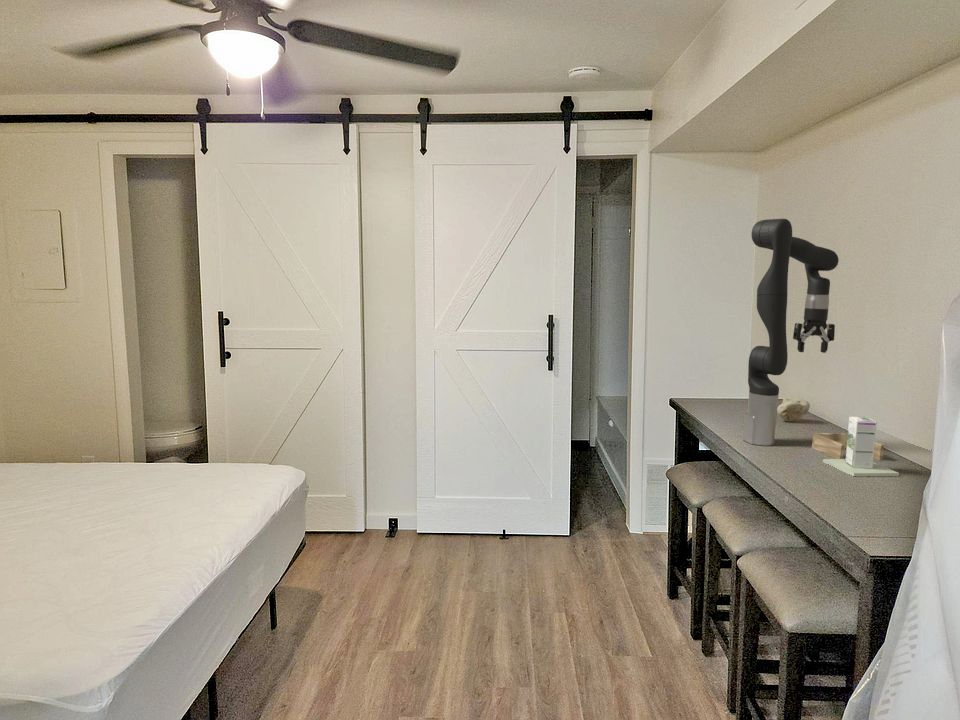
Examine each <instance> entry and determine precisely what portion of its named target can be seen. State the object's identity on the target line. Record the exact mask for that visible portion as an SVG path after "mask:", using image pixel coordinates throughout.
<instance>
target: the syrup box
mask: <svg viewBox="0 0 960 720" xmlns="http://www.w3.org/2000/svg"><path fill="white" fill-rule="evenodd" d="M877 423H878V422H877V421H876V420H875V419H872V418H870V417H866V416H849V418H848V427H847V428H848V429H847V433H848V437H847V447H846V448H845V449H846V450H845V458H844V459H845V462H846V463H847V464H849V465H850V466H852V467H854V468H867V469H872V467H873V462H874V458H873V457H874V447H875V442H876V437H877V436H876V433H877V426H878V424H877Z"/></svg>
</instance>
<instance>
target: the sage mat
mask: <svg viewBox="0 0 960 720" xmlns="http://www.w3.org/2000/svg"><path fill="white" fill-rule="evenodd" d="M822 462H823V463H824V464H826V465H828V464H829V466H830V465H831V467H832V466H833V467H832V468H834V467H835V468H834V469H836V468H837V470H839V471H841V472H843V473H845V474H848V475H849V474H850V475H849V476H851V475H852V476H851V477H853V476H856V477H855V478H857V477H859V478H861V477H868V476H870V477H899V474H900V473H899V472H898V471H895V470H892V469H891V468H888V467H885V466H883V465H881V464H878V463H876V462H874V461H873V467H872V469H867V468H854V467H852V466H850V465H849V464H847V463H846V462H845V458H843V459H836V458H824V459H823V461H822Z"/></svg>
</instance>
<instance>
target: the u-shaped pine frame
mask: <svg viewBox="0 0 960 720" xmlns="http://www.w3.org/2000/svg"><path fill="white" fill-rule="evenodd" d="M847 437H848V432H846V433H845V432H841V433H840V432H837V433H836V432H833V433H832V432H829V433H828V432H826V433H825V432H823V433H822V432H817V433H815V432H813V433H812V441H811V442H812V443H811V448H812V449H814V450H816V451H818V452H820V453H822V452H823V453H822V454H824V455H826V456H830V457H831V458H833V457H834V458H833V459H844V453H845V452H844V451H845V449H846V447H847ZM884 448H885V444H883V443H881V442H877V441H875V447H874V457H873V459H875V460H878V461H883V459H884V451H885V449H884Z"/></svg>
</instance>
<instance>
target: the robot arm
mask: <svg viewBox="0 0 960 720" xmlns="http://www.w3.org/2000/svg"><path fill="white" fill-rule="evenodd" d="M791 223H792V222H791V221H790V220H789V219H787V218H770V219H768V218H767V219H763V220H762V219H761V220H760V221H757V222H756V223H755V224H754V225H753V227H752V230H751V240H752V243H753V244H754V245H755V246H757V247H758V248H763V249H768V250H771V251H772V257H771V258H772V259H771V263H770V265H769V267H768V269H767V271H766V272H765V274H764V275H763V277H762V278H761V280H760V282H759V284H758V286H757V289H756V290H757V291H756V310H757V313H758V315H759V317H760V319H761V321H762V324H764V327H765V328H766V331H767V333H768V340H769V341H768V342H769V343H768V344H769V346H766V345H757V346H755V347H753V348H752V349H751V351H750V353H749V358H748V368H747V369H748V374H747V383H748V387H749V388H748V389H749V391H748V401H747V412H746V413H744V420H743V432H742V440H743V441H744V442H746V443H747V444H750V445H757V446H774V445H775V439H776V438H775V437H776V436H775V435H776V427H777V418H778V417H777V415H778V413H777V408H778V406H779V395H780V394H779V393H780V387H779V386H778V384H776V383H774V382H773V381H772V380H771V379H770V378H769V376H768V375H771V376H780V375H782V374H783V373H784V372H785V371H786V369H787V366H788V354H789V353H788V342H787V341H788V339H787V308H788V284H789V283H788V282H789V281H788V280H789V279H788V278H789V277H788V276H789V263H790V258H792V259H794V260H796V261H798V262H800V263H802V264H804V270H805V273H806V274H805V275H806V279H807V289H806V290H807V291H806V295H805V304H804V312H803V320H804V321H803V323H799V322H796V323H794V329H793V336H792V339H793V340H796V341H797V347H796V348H797V351H798V352H799V353H804V351H805V344H806V343H805V342H806V340H807V338H809V337H810V336H812V337H814V336H817V337H819V338H820V339H821V342H820V343H821V344H820V352H821V353H823V354H825V353H827V351H828V349H829V343H830V342H832V341H834V340H835V332H836V331H835V330H836V328H835V327H836V325H835V324H834V323H827V321H828V316H829V315H828V314H829V306H830V290H831V289H830V288H831V281H830V278H828V277H822V276H821V274H820V272H829V271H833V270H834V269H836V268H837V266H838V265H839V260H840V259H839V256H838V254H837V252H835V251H834V250H832V249H829V248H826V247H821V246H818V245H815V243H812V242H811V241H809V240H806V239H804V238H800V237H796V236H793V225H792V224H791ZM819 271H820V272H819ZM802 330H803V331H802Z"/></svg>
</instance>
